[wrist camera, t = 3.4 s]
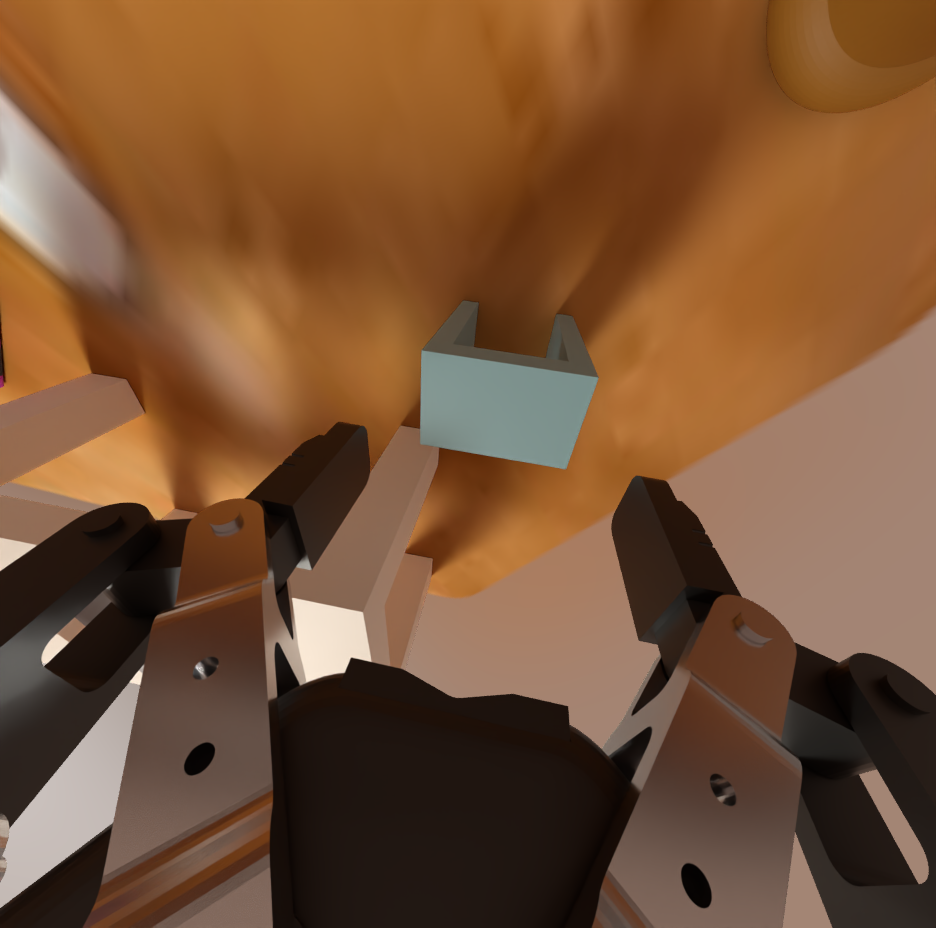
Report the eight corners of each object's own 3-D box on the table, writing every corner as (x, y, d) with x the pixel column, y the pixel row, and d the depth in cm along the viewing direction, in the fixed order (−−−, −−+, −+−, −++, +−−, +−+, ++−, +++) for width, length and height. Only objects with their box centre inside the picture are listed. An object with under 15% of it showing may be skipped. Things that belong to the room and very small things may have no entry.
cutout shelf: (91, 373, 26) (-281, 503, 14) (439, 432, 24) (352, 637, 12) (186, 527, 37) (21, 675, 25) (431, 576, 35) (380, 758, 23)
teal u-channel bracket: (463, 300, 19) (421, 350, 12) (572, 316, 18) (598, 377, 11) (457, 368, 21) (420, 444, 14) (554, 383, 21) (566, 469, 14)
